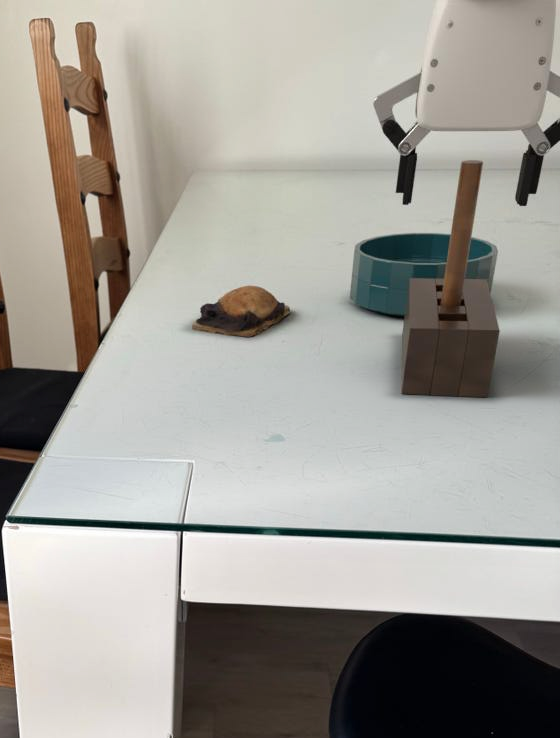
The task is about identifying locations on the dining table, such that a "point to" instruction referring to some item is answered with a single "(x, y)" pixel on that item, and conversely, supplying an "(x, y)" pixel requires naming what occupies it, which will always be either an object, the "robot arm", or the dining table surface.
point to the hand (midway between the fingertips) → (462, 202)
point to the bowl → (409, 267)
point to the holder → (448, 340)
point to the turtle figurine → (241, 312)
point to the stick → (461, 232)
